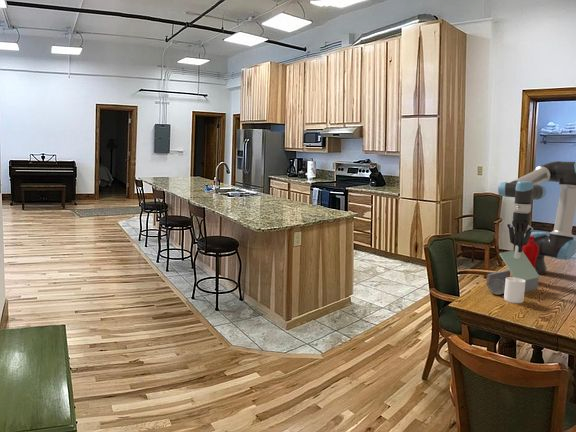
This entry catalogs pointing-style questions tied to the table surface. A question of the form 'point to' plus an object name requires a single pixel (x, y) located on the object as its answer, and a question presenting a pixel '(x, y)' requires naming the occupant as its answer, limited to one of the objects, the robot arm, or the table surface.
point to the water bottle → (531, 251)
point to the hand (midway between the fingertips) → (517, 258)
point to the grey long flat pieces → (503, 275)
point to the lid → (519, 266)
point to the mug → (496, 286)
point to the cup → (514, 290)
